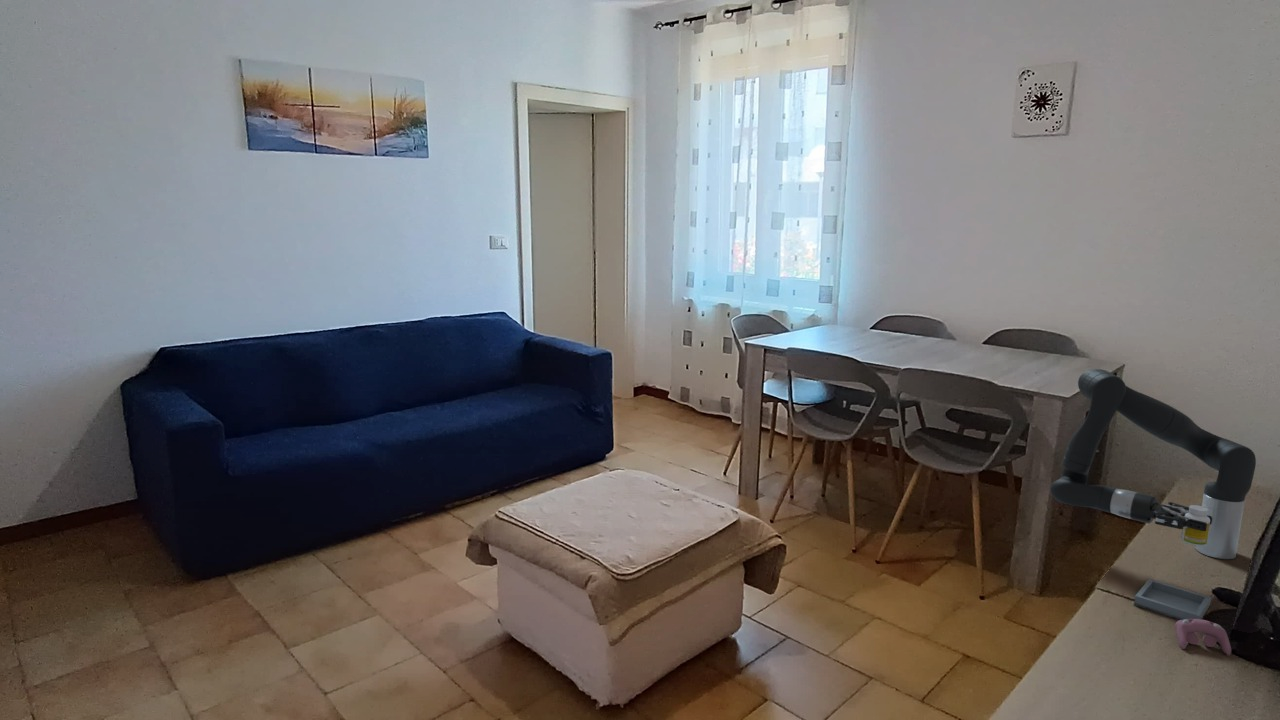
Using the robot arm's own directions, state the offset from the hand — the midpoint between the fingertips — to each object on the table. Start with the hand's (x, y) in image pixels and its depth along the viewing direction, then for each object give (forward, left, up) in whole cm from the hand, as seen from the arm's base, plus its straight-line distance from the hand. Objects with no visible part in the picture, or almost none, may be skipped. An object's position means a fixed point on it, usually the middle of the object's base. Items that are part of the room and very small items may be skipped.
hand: (1209, 524), depth 188 cm
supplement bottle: (0, -3, -6) cm, 7 cm away
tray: (+17, -3, -18) cm, 25 cm away
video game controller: (+33, +6, -18) cm, 38 cm away
